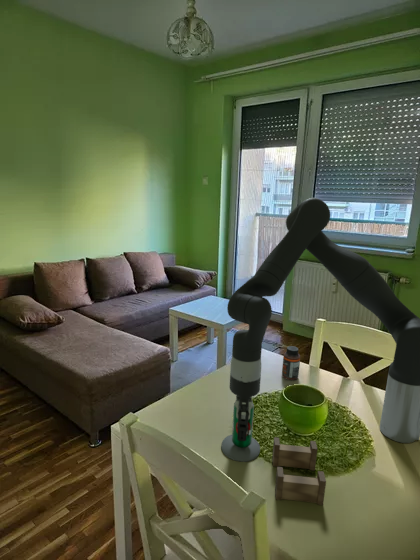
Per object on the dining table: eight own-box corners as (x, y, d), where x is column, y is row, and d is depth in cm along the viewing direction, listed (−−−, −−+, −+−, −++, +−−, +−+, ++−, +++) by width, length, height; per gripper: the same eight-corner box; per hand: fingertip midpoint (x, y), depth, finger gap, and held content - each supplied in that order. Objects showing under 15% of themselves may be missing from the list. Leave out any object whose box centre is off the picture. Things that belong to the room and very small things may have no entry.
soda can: (239, 433, 97) (241, 393, 94) (255, 442, 94) (258, 400, 91) (228, 443, 93) (230, 401, 90) (244, 452, 90) (247, 409, 87)
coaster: (259, 437, 98) (259, 435, 98) (260, 463, 89) (260, 461, 88) (222, 433, 99) (222, 432, 99) (219, 459, 90) (220, 457, 89)
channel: (312, 462, 90) (315, 441, 88) (323, 505, 77) (326, 481, 76) (272, 458, 91) (274, 437, 89) (275, 499, 78) (278, 476, 77)
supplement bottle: (278, 373, 134) (281, 345, 131) (292, 372, 136) (295, 344, 133) (286, 381, 128) (289, 352, 126) (301, 379, 130) (304, 350, 127)
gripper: (231, 358, 96) (228, 415, 100) (228, 386, 82) (225, 450, 86) (260, 360, 96) (256, 417, 100) (261, 389, 82) (257, 453, 86)
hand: (241, 432), depth 93 cm, fingers closed on soda can, 5 cm apart
